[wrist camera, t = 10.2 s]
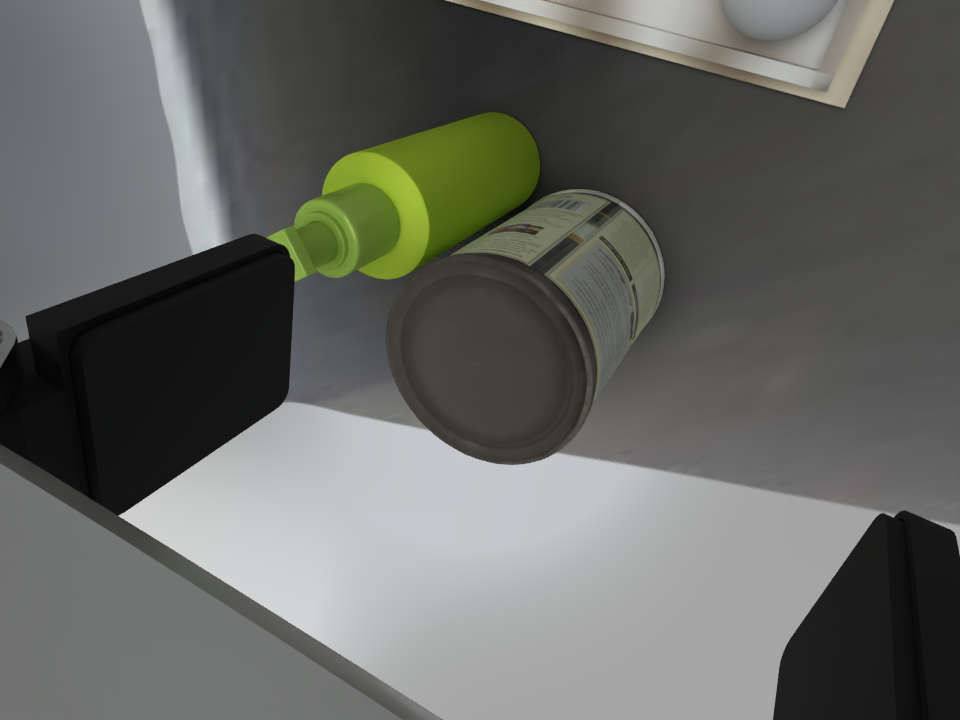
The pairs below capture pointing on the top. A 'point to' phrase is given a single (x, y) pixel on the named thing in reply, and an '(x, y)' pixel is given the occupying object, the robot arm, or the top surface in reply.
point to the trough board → (719, 39)
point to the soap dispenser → (413, 198)
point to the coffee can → (525, 325)
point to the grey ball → (775, 16)
